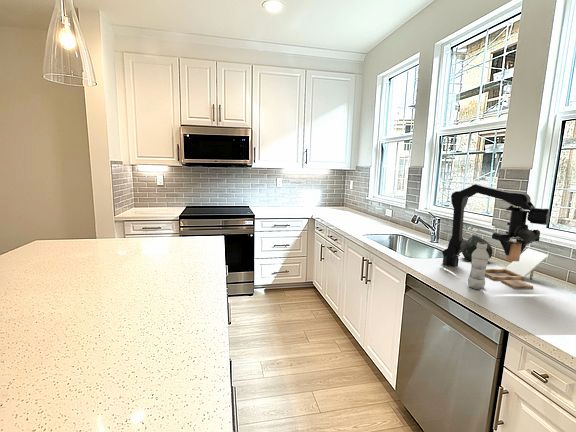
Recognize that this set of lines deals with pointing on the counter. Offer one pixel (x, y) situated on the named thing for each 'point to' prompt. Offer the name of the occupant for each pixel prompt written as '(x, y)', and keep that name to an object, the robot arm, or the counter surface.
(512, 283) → the stand
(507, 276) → the wooden tray
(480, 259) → the plastic bottle
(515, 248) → the pot
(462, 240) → the robot arm
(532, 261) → the propped lid
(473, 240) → the squash
